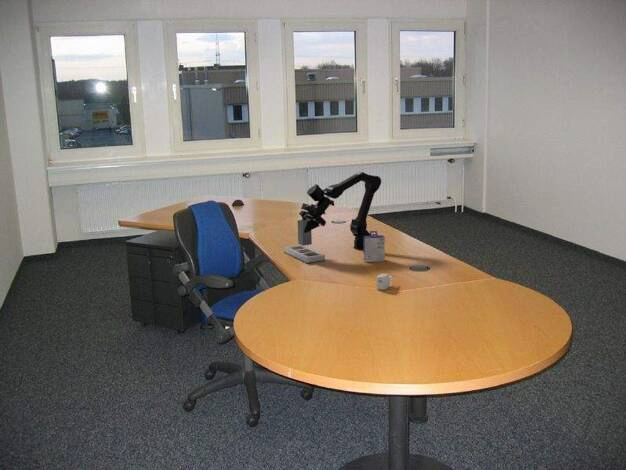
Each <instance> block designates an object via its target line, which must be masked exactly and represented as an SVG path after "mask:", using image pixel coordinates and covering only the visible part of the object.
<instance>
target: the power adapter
mask: <svg viewBox="0 0 626 470" xmlns="http://www.w3.org/2000/svg"><path fill="white" fill-rule="evenodd" d="M394 277H395V276H394V275H393V274H392V275H390V274H388V273H383V272H382V273H380V274H378V275H377V276H376V285H375V287H376V289H377V290H378V291H379V290H380V291H384V290H387V289H389V287H390V282H391V281H393V279H394Z"/></svg>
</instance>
